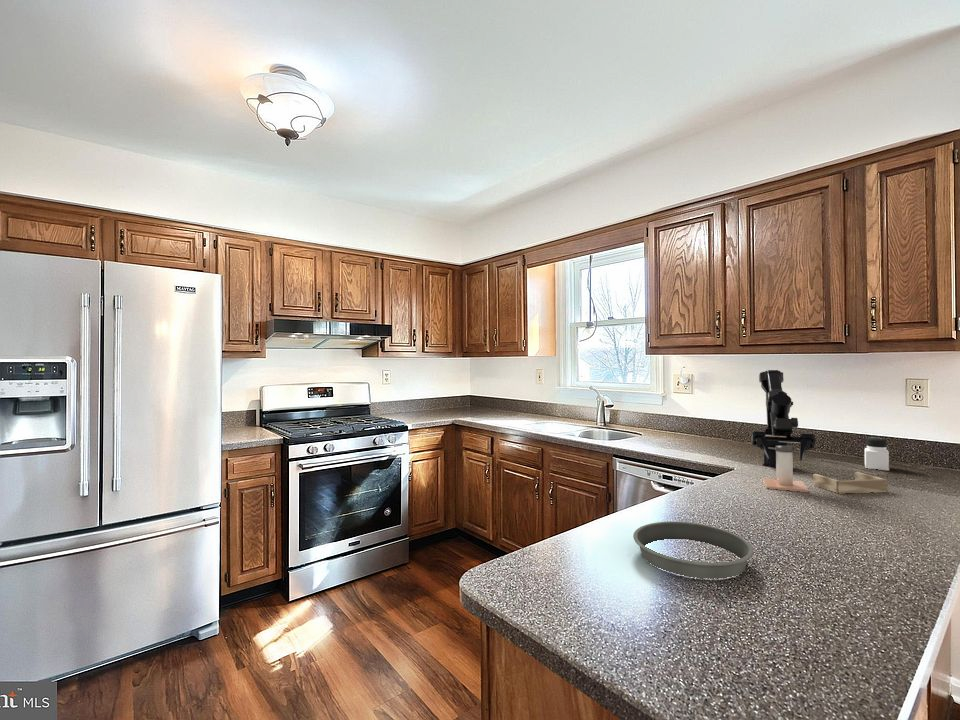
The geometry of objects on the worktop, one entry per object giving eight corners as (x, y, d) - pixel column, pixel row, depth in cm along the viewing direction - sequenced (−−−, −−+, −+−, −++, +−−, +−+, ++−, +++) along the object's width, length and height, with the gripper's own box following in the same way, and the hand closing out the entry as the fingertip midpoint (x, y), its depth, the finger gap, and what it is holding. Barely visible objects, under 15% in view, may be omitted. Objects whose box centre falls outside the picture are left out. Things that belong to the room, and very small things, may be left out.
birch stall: (813, 485, 162) (813, 474, 162) (858, 483, 164) (857, 471, 164) (839, 494, 151) (839, 482, 151) (887, 491, 153) (887, 479, 153)
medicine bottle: (889, 471, 180) (889, 440, 180) (865, 468, 184) (865, 438, 184) (887, 467, 186) (887, 437, 186) (864, 465, 190) (864, 435, 190)
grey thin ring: (654, 531, 123) (654, 514, 123) (762, 555, 107) (762, 535, 107) (616, 564, 104) (616, 543, 104) (741, 598, 88) (740, 575, 88)
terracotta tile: (763, 480, 170) (763, 478, 170) (802, 483, 164) (802, 481, 164) (766, 488, 159) (766, 486, 159) (808, 492, 154) (808, 490, 154)
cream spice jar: (772, 482, 164) (772, 445, 164) (785, 481, 165) (784, 444, 165) (784, 486, 159) (783, 448, 159) (797, 485, 160) (796, 447, 160)
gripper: (751, 408, 169) (754, 444, 160) (814, 410, 161) (821, 447, 151) (750, 427, 176) (753, 462, 167) (810, 429, 168) (816, 466, 158)
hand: (784, 459), depth 160 cm, fingers open, 9 cm apart
